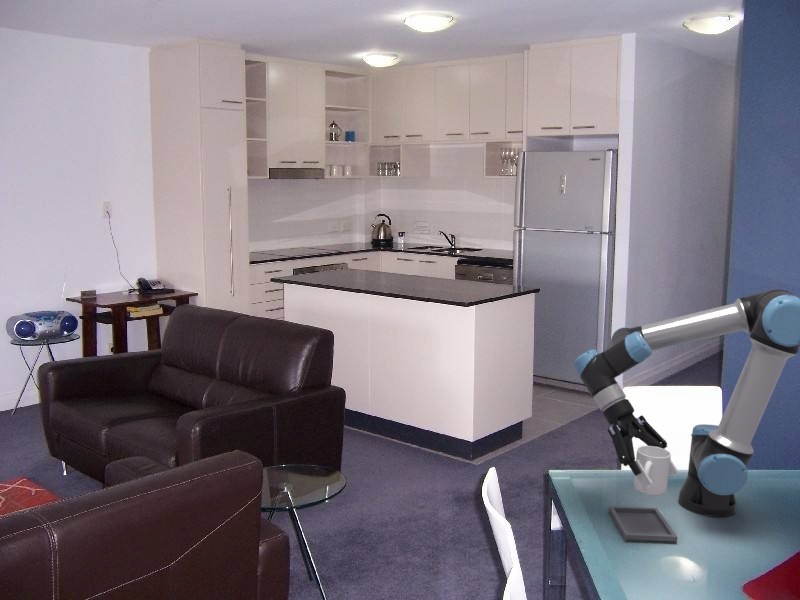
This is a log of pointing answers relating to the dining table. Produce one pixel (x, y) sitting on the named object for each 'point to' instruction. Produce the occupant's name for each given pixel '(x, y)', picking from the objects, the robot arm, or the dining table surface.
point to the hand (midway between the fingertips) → (661, 479)
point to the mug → (653, 469)
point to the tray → (642, 525)
